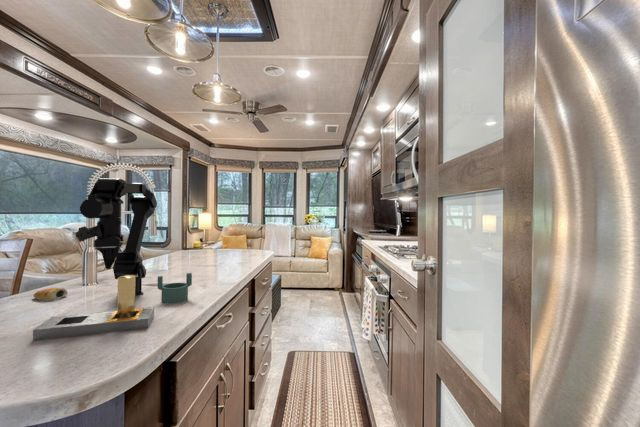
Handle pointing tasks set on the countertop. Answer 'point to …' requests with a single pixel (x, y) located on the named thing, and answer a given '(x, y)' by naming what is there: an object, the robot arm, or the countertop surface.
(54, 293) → the pastry
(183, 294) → the bracket
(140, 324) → the hole rail
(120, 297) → the brass peg
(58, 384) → the countertop surface
